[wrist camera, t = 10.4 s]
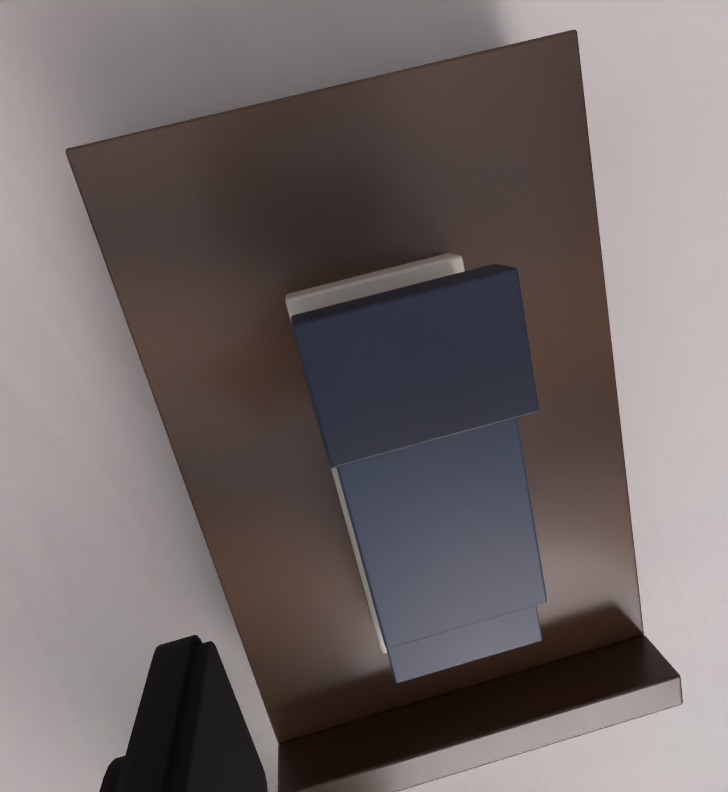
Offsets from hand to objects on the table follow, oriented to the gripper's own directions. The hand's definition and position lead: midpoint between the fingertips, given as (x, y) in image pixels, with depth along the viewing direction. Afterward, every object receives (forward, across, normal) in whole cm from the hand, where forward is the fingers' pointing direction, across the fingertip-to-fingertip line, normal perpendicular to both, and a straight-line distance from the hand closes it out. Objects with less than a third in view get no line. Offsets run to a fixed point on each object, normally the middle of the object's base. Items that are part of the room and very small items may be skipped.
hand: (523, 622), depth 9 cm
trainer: (+9, 0, +1) cm, 9 cm away
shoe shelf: (+13, 0, +1) cm, 13 cm away
